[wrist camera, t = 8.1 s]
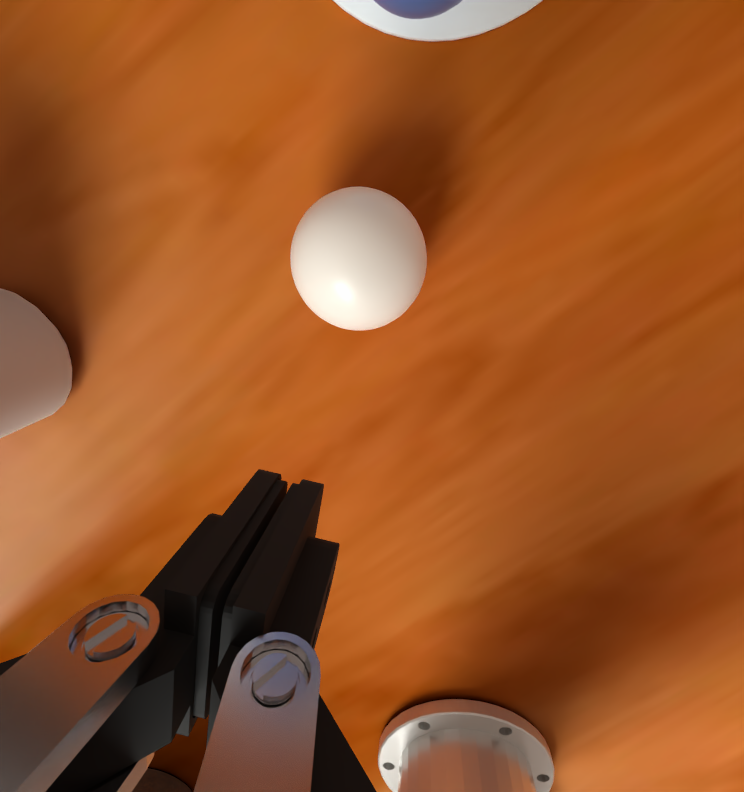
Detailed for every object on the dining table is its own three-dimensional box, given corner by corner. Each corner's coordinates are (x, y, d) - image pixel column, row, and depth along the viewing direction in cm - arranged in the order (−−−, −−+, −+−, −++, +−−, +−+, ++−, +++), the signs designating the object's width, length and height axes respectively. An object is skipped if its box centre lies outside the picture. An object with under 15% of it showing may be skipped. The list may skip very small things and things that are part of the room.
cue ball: (454, 307, 14) (452, 259, 19) (358, 160, 12) (382, 147, 16) (335, 376, 17) (359, 320, 21) (239, 265, 14) (287, 228, 19)
